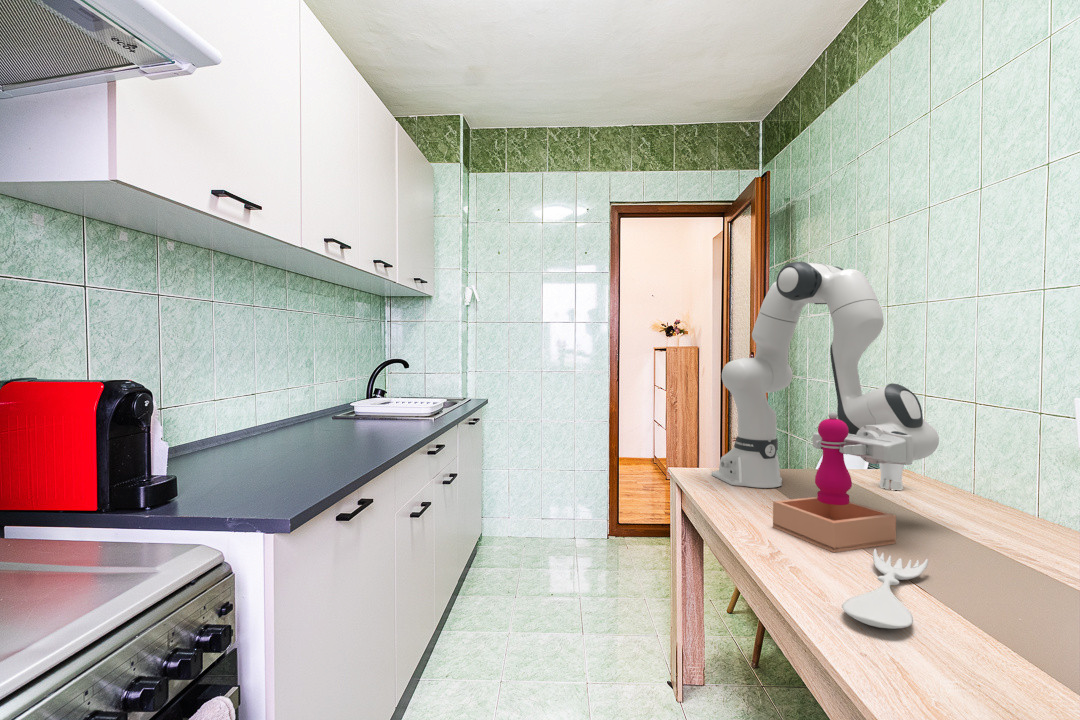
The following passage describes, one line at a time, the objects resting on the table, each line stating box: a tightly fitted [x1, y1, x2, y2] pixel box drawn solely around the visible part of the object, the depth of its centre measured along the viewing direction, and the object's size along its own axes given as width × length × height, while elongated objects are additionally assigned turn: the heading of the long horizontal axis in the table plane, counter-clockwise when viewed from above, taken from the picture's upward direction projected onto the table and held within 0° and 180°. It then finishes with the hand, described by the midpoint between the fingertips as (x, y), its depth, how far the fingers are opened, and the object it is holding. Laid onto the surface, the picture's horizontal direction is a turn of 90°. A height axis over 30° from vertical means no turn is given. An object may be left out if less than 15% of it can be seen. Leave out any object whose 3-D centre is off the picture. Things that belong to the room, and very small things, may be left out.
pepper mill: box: [814, 411, 853, 505], centre depth 121 cm, size 7×7×20 cm
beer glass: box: [878, 463, 905, 491], centre depth 163 cm, size 7×7×15 cm
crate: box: [772, 496, 897, 553], centre depth 121 cm, size 17×17×6 cm
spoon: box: [841, 548, 929, 630], centre depth 90 cm, size 9×32×4 cm, turn 140°
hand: (829, 447), depth 120 cm, fingers closed on pepper mill, 5 cm apart
